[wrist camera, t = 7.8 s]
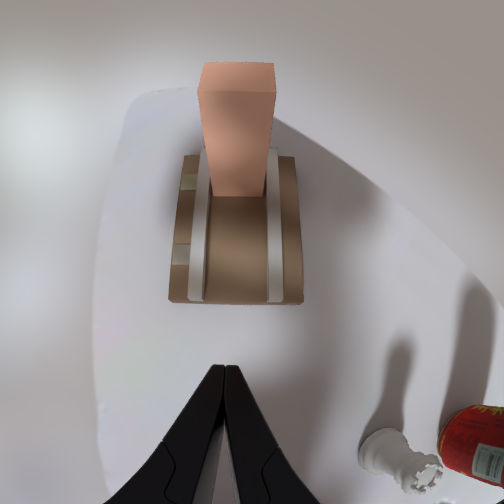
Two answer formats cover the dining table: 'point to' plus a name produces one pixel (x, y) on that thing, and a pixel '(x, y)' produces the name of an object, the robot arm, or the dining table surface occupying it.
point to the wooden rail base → (237, 239)
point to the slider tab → (237, 124)
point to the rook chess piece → (399, 461)
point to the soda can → (475, 443)
